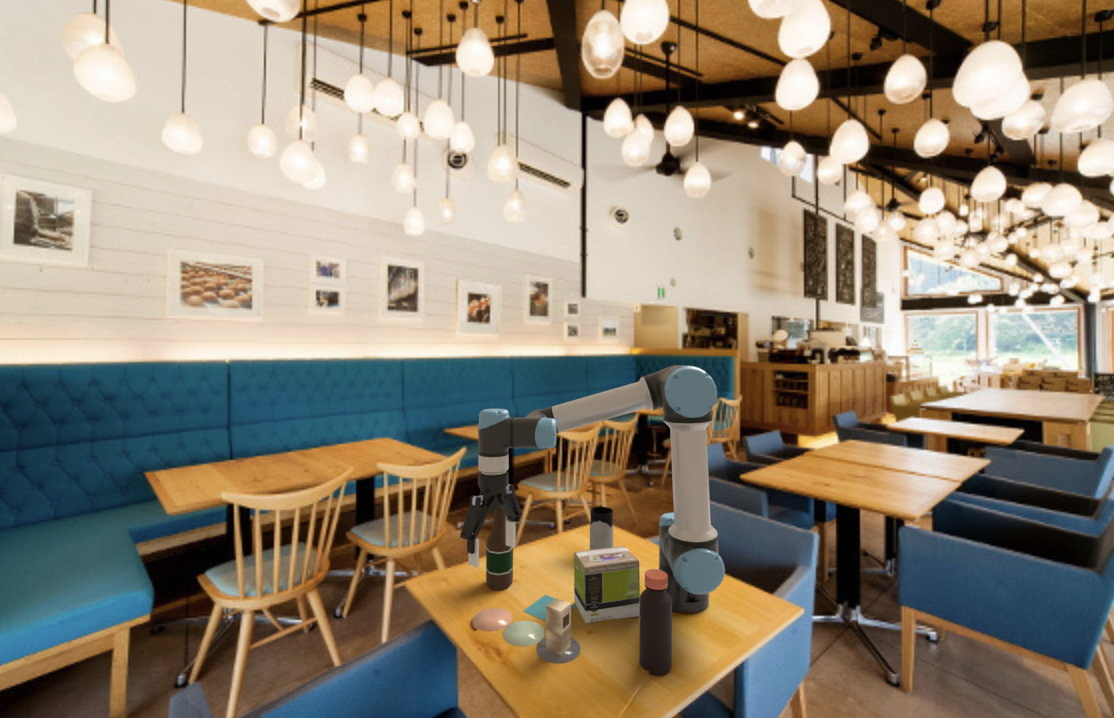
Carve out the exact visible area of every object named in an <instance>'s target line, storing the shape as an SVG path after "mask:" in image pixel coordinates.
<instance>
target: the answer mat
mask: <svg viewBox="0 0 1114 718" xmlns="http://www.w3.org/2000/svg"><path fill="white" fill-rule="evenodd" d="M555 599H556V598H555V597H553V596H550V595H547V594H544V595H543V596H541V597H540V598H539V599H537V600H535V602H533V603H532V604H530V605H528V606H527V607H526V608H524V610H522V612H523V613H526V614H528V615H530V616H533V617H535V618H538V619H539V620H542V621H545V622H546V606H547V605H548V604H549V603H551V602H552V601H553V600H555ZM574 608H576V605H574V604H571V611H572V610H574Z"/></svg>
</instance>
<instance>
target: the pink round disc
mask: <svg viewBox="0 0 1114 718" xmlns="http://www.w3.org/2000/svg"><path fill="white" fill-rule="evenodd" d="M513 620H514V619H513V614H512V613H511V612H510V611H509V610H508V609H505V608H501V607H489V608H485V609H482V610H480V611H478V612H476V614H475V615H473V617H472V621H471V622H472V627H473V628H474V629H475V630H476V631H477V630H481V631H484V632H496V631H497V632H498V631H501V630H504V629H505V628H506V627H507V626H508V625H510V624H512V623H513Z"/></svg>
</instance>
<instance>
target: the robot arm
mask: <svg viewBox="0 0 1114 718" xmlns="http://www.w3.org/2000/svg"><path fill="white" fill-rule="evenodd" d="M717 389H718V388H717V386H716V384H715V381H714V379H713V378H712V377H711V375H709V374H708V372H706V371H705V370H703V369H701V368H700V367H697V366H693V365H683V364H682V365H681V364H676V365H671V366H668V367H666V368H663V369H660V370H658V371H655V372H652V373H650V374H647V375H644V376H641V377H640V379H639V380H638V381H637V382H634V383H633V382H632V383H629V384H626V385H622V386H620V387H615V388H612V389H608V390H605V391H601V392H598V393H595V394H592V395H588V396H583V397H581V398H577V399H574V400H571V401H567V402H564V403H563V402H562V403H560V404H557V405H553V406H550V407H546V408H542V409H538V408H537V409H534V410H533V411H530V412H529V413H528V414H527V415H526V416H525V417H512V416H511V417H510V414H509V413H510V412H509V410H508V409H505V408H486V409H483V410H481V411H480V412H479V414H478V416H479V417H478V428H477V433H478V434H477V435H478V453H477V454H478V462H477V463H478V464H477V465H478V468H477V469H478V471H479V472H478V474H477V478H478V479H477V484H478V488H479V489H480V493H479V495H470V497H469V507H468V510H467V513H466V516H465V519H464V522H463V524H462V525H463V526H462V528H461V532H460V533H459V538H460V539H463V540H466V553H468V560H467V561H468V562H467V563H468V565H469V566H471V567H473V568H479V566H480V539H479V538H478V536H479V534H480V531H481V530H482V527H483V525H484V523H485V521H486V519H487V518H488V516H489V515H490V514H491V512H492V511H494V509H495V508H499V507H500V508H501V509H502V511H503V512H504V513H505V515H506V545H507V546H510V547H513V549H514V548H516V536H517V535H516V533H517V522H520V520H521V517H522V515H523V511H522V508H521V506H520V502H519V501H518V498H517V495H516V493H515V491H516V490H515V485H514V484H509V471H508V470H509V469H510V468H509V467H510V465H509V462H510V459H509V453H510V452H509V448H510V449H539V450H544V449H552V448H553V449H554V448H555V446H556V445H557V434H560V433H564V432H566V431H570V430H574V429H577V428H580V427H583V426H584V427H585V426H589V425H592V424H595V423H599V422H602V421H607V420H609V419H613V418H617V417H620V416H624V415H627V414H631V413H634V412H637V411H642V410H645V409H648V410H649V411H651V412H652V411H655V410H659V409H660V410H661V409H662V415H663V423H665V424H666V425H667V426H668V428H669V429H670V430H669V431H670V451H671V452H670V453H671V457H670V458H671V476H672V477H671V478H672V497H673V512H666V513H663V514H661V516H660V518H659V524H658V527H659V540H658V541H659V547H658V549H659V551H658V552H659V553H658V554H659V555H658V556H659V557H658V559H659V560H658V562H659V563H658V569H657V570H661V571H664V572H665V573H666V574H667V575H668V586H667V587H668V588H667V590H666V591H667V592H668V594H669V595H670V596H671V598H672V612H677V613H684V614H685V613H686V614H690V613H691V614H693V613H699V612H702V611H704V610H705V609H707V607H708V606H709V604H710V593H712V592H714V591H716V589H718V587H720V586H721V584H722V582H723V581H724V578H725V573H726V568H725V565H724V561H723V558H722V557H721V556H720V555H719V540H718V539H719V538H718V537H719V536H718V531H717V529H715V528H714V526H713V525H711V505H710V504H711V503H710V500H711V499H710V482H709V481H710V480H709V460H708V456H709V455H708V440H707V439H708V438H707V437H708V436H707V435H708V434H707V428H708V427H709V425H711V424H712V422H713V421H714V420H713V407H714V406H715V404H716V402H717V398H718V390H717Z"/></svg>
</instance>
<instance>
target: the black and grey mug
mask: <svg viewBox="0 0 1114 718" xmlns="http://www.w3.org/2000/svg"><path fill="white" fill-rule="evenodd" d="M612 547H614V510H613V508H610V507H608V506H607V505H606V506H594V507H592V508H590V522H589V550H594V549H604V548H612Z"/></svg>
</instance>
